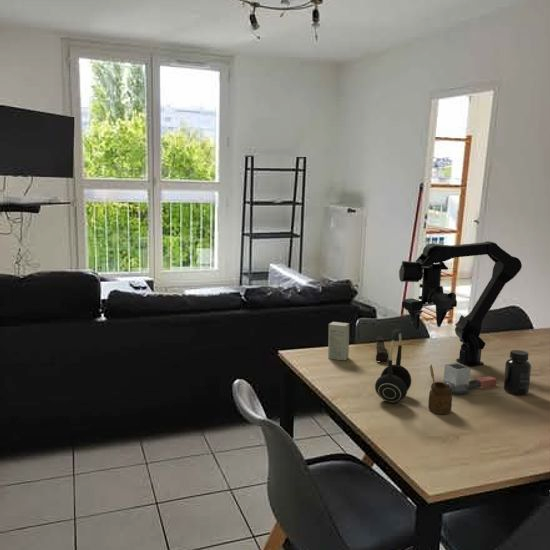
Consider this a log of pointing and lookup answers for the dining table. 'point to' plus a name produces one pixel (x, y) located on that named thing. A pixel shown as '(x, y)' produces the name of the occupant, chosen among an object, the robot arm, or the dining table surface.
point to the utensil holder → (440, 396)
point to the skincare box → (338, 341)
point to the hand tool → (381, 350)
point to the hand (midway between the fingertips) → (427, 327)
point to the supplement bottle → (517, 373)
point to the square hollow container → (457, 374)
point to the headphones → (394, 376)
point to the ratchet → (473, 385)
